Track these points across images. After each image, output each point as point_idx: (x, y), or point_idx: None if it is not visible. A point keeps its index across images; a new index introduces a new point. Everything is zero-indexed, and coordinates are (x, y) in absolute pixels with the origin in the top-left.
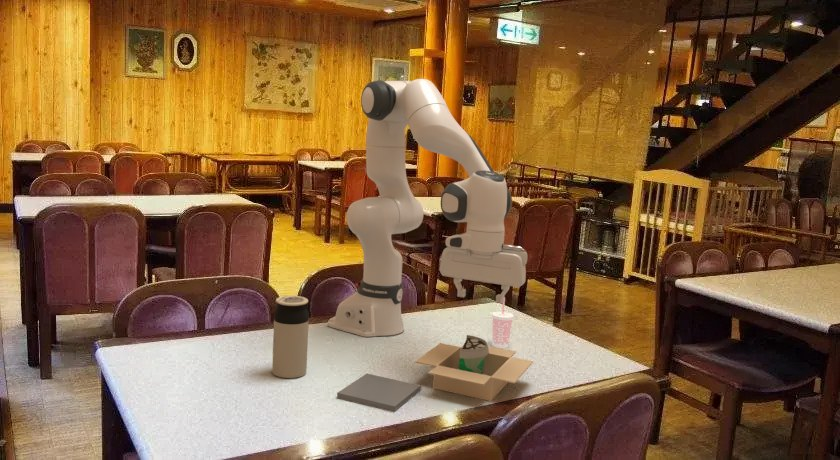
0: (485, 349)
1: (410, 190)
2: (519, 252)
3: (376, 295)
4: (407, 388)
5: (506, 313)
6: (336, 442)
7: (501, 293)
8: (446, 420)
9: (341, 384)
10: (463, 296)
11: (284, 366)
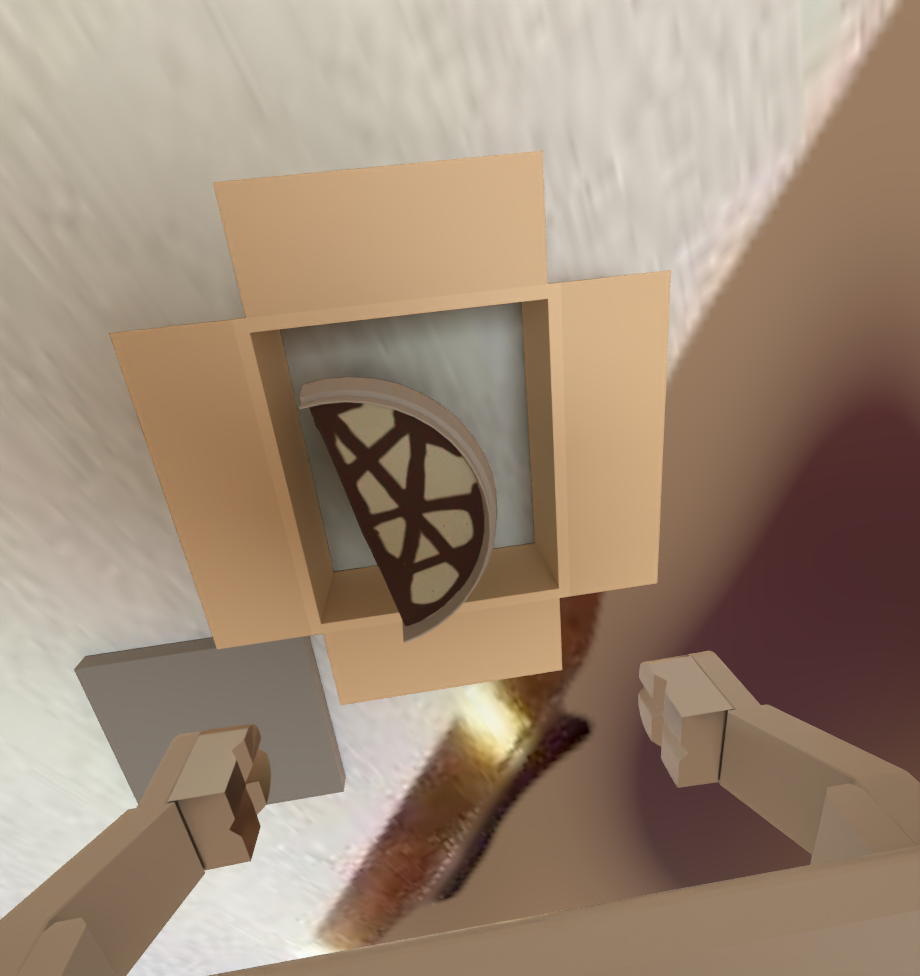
0: (494, 525)
1: None
2: None
3: None
4: (284, 681)
5: None
6: (345, 934)
7: (767, 816)
8: (488, 734)
9: (74, 740)
10: (266, 773)
11: None
